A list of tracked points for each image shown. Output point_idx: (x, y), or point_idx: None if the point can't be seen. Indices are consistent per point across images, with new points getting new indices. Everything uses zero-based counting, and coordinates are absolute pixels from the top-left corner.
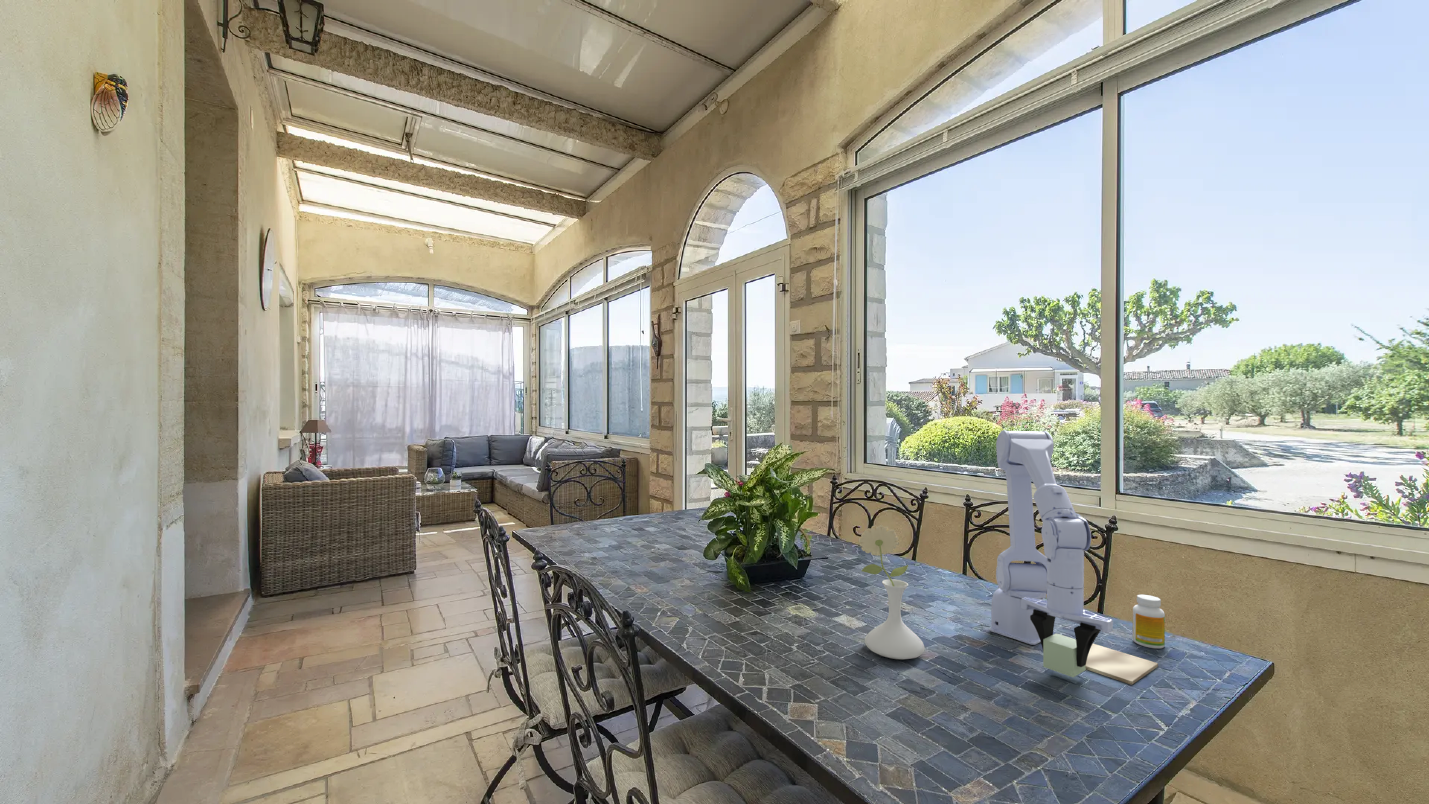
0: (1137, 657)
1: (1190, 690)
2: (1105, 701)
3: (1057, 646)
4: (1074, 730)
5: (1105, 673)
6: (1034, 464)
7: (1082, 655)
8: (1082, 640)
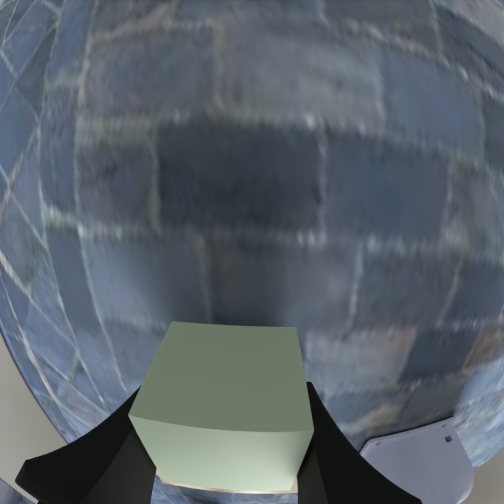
0: (192, 487)
1: None
2: (89, 281)
3: (222, 416)
4: (77, 22)
5: None
6: None
7: (122, 406)
8: (75, 456)
